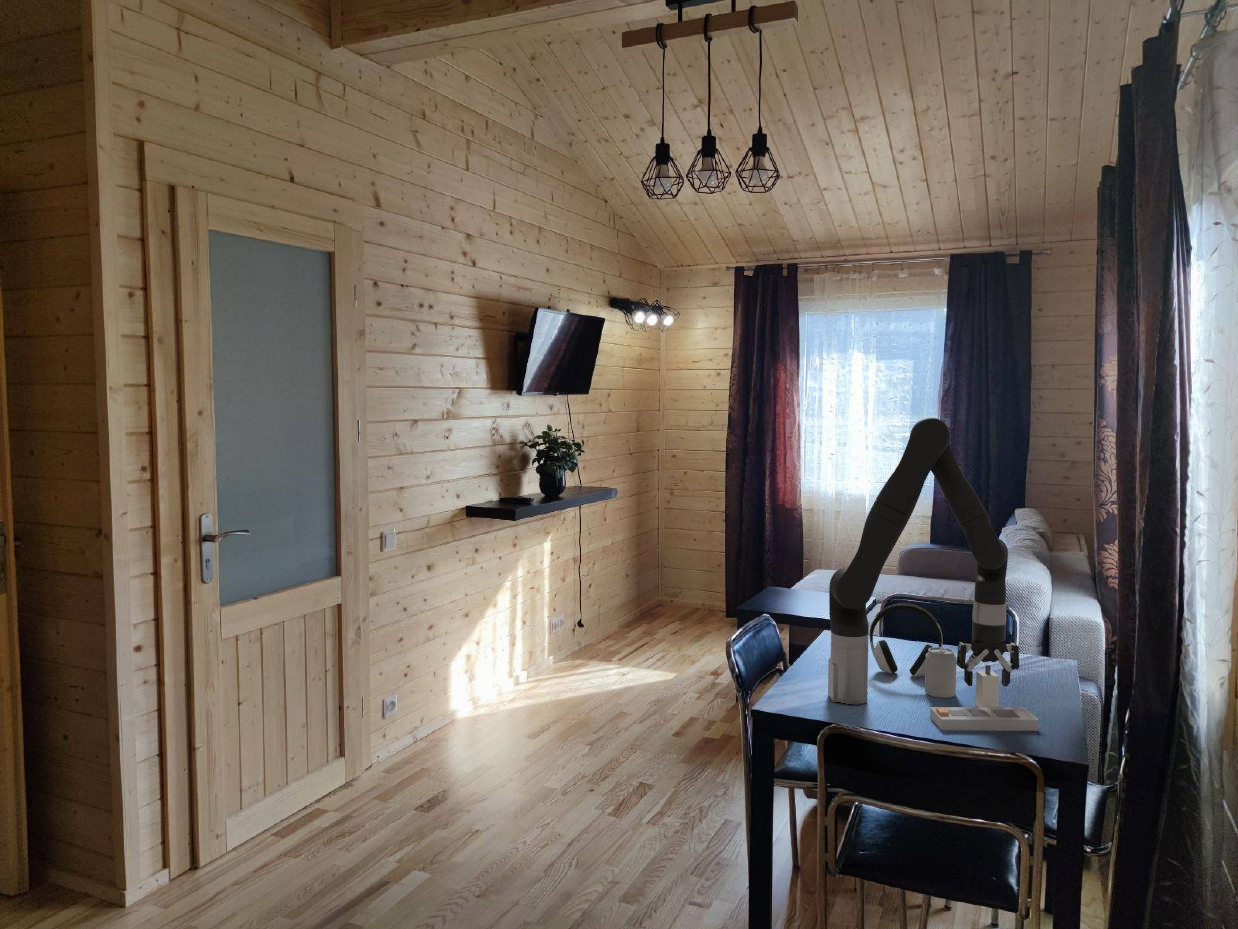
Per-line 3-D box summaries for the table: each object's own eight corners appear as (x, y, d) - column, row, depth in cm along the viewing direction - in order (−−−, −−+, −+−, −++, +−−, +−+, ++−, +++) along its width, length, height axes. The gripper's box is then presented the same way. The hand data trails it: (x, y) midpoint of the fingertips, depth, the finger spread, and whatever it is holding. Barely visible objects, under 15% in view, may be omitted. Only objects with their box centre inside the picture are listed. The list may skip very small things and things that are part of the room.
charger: (981, 712, 218) (982, 668, 217) (975, 706, 222) (976, 663, 221) (998, 712, 218) (999, 668, 217) (991, 706, 222) (992, 663, 221)
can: (919, 695, 230) (920, 649, 229) (932, 689, 235) (934, 644, 234) (947, 702, 225) (948, 655, 224) (960, 695, 230) (961, 649, 229)
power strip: (941, 732, 205) (941, 716, 205) (929, 719, 213) (930, 704, 213) (1038, 732, 205) (1038, 716, 204) (1023, 720, 213) (1024, 704, 212)
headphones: (866, 675, 247) (868, 603, 245) (870, 666, 254) (871, 597, 253) (941, 683, 239) (942, 609, 238) (942, 674, 247) (944, 603, 246)
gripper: (965, 624, 214) (963, 690, 216) (1025, 624, 214) (1022, 690, 215) (954, 616, 222) (952, 680, 223) (1012, 616, 221) (1010, 680, 223)
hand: (987, 685), depth 219 cm, fingers open, 8 cm apart
